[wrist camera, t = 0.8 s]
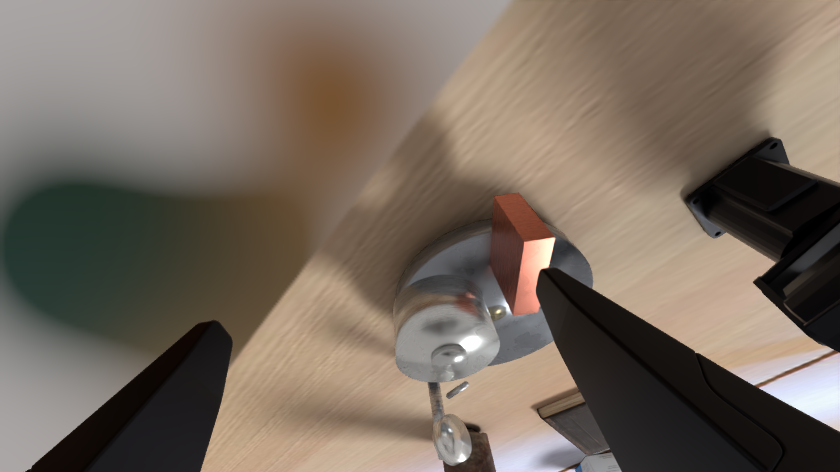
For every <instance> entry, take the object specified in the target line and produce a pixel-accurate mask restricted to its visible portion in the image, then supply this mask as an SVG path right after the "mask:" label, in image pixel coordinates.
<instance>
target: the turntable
mask: <svg viewBox="0 0 840 472" xmlns="http://www.w3.org/2000/svg"><path fill="white" fill-rule="evenodd" d="M549 267H556V268H558V269H560V270H562V271H563V272H565V273H567V274H568V275H570V276H572V277H573V278H575V279H577V280H578V281H580V282H581V283H583V284H585V285H586V286H588V287H590V288H591V289H592V286H593V277H592V271H591V268H590V265H589V263H588V262H587V260H586V258H585V257H584V256H583V254H582V253H581V252H580V251H579V250H578V249H577V248H576V246H575V245H574V244H573V243H572V242H571V241H570V240H569V239H568V238H567V237H566V236H565V234H564V233H562V232H561V231H559V230H558V229H556V228H555V227H553V226H551V225H549V224H547V223H544V222H542V221H541V219H540V218H539V217H538V216H537V215H536V213H535V212H534V211H533V210H532V208H531V207H530V206H529V205H528V204H527V202H526V201H525V200H524V199H523V198H522V196H521V195H520V194H519V193H514V194H507V195H500V196H494V203H493V218H492V219H487V220H482V221H478V222H474V223H471V224H468V225H465V226H462V227H460V228H458V229H455V230H453V231H451V232H449V233H447V234H445V235H443V236H442V237H440V238H438V239H437V240H435V241H434V242H432V243H431V244H429V245H428V246H427V247H426V248H424V249H423V250H422V251H421V252H420V253H419V254H418V255H417V256H416V257H415V258H414V259H413V260H412V261H411V263H410V264H409V265H408V267H407V268H406V270H405V271H404V273H403V275H402V277H401V279H400V281H399V283H398V287H397V291H396V298H397V297H398V295H399V294H400V293H401V292H402V291H403V290H404V289H405V288H406V287H407V286H409V285H410V284H412V283H414V282H416V281H418V280H420V279H423V278H426V277H430V276H435V275H456V276H461V277H464V278H466V279H468V280H470V281H472V282H473V283H474V284H476V285H477V286H478V288H479V289H480V291H481V293H482V296H483V298H484V301H485V304H486V306H487V309H488V311H489V314H490V316H491V319H492V322H493V324H494V327H495V329H496V332H497V335H498V337H499V341H500V348H499V351H498V353H497V355H496V357H495V358H494V359H493V360H492V362H491V363H489V364H488V365H487V366H492V365H497V364H501V363H505V362H509V361H512V360H515V359H518V358H521V357H523V356H526V355H528V354H530V353H533V352H535V351H537V350H539V349H541V348H542V347H544V346H546V345H547V344H549V343H551V342H552V341H553V340H554V339H553V337H552V334H551V332H550V329H549V327H548V324H547V321H546V319H545V316H544V314H543V311H542V309H541V306H540V303H539V301H538V298H537V295H536V284H537V280H538V275H539V271H540V270H541V269H543V268H549Z"/></svg>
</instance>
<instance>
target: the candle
mask: <svg viewBox="0 0 840 472" xmlns="http://www.w3.org/2000/svg"><path fill="white" fill-rule="evenodd" d="M467 430H468V432H469V435H470V438H471V445H472V449H471V454H470V456H469V458H468V459H467V460H465V461H463V462H461V463H459V464H457V465H454V466H452V465H449V464H447V463H445V462H444V461H443V464H444V471H445V472H496V470H495V465H494V461H493V457H492V453H491V449H490V445H489V441H488V436H487V434H486V433H481V434H480V433H479V432H475V431H474V430H469V429H467Z"/></svg>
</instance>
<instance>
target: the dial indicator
mask: <svg viewBox="0 0 840 472" xmlns="http://www.w3.org/2000/svg"><path fill="white" fill-rule="evenodd" d="M468 385H469V383H468V382H467V381H465V382H463V383H462V384H460V385H459V386H457V387H456V388H455V389H453V390H452V391H450V392H449V393H447V395H446V397H447V398H448V399H450V398H451V397H453V396H454V395H456V394H457V393H459V392H460V391H462V390H463V389H465V388H466V387H468ZM428 388H429V395H430V402H431V409H432V416H433V423H434V427H433V432H432V436H433V442H434V446H435V448H436V451H437V453H438V458H439V459H441V460H443V461H444V462H445V463H447V464H449V465H452V466H454V465H457V464H459V463H461V462H463V461H465V460H467V459H468V458H469V456H470V454H471V449H472V445H471V438H470V435H469V432H468V430H467V428H466V426H465V425H464V423H463V422H462V421H461V420H460V419H459V418H458V417H457V416H455V415H453V414H447V415H446V416H445V413H444V407H443V402H442V396H441V390H440V384H439V382H428Z"/></svg>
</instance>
